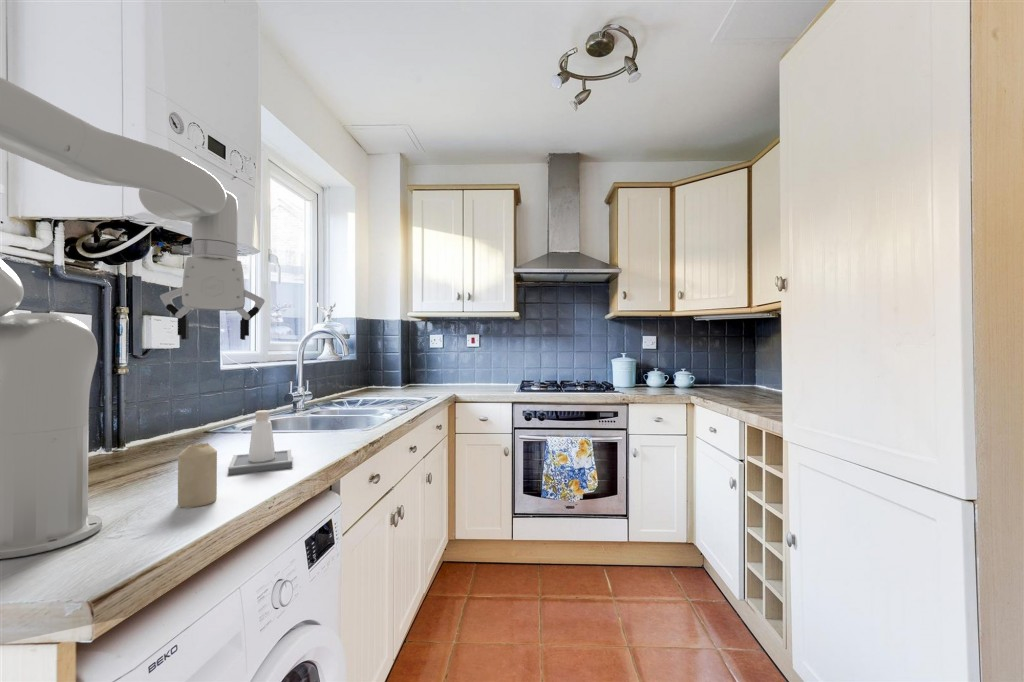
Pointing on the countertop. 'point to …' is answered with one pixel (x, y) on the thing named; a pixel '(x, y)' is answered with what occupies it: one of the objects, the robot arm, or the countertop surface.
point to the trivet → (260, 463)
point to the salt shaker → (261, 439)
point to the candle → (197, 476)
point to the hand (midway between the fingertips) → (214, 339)
